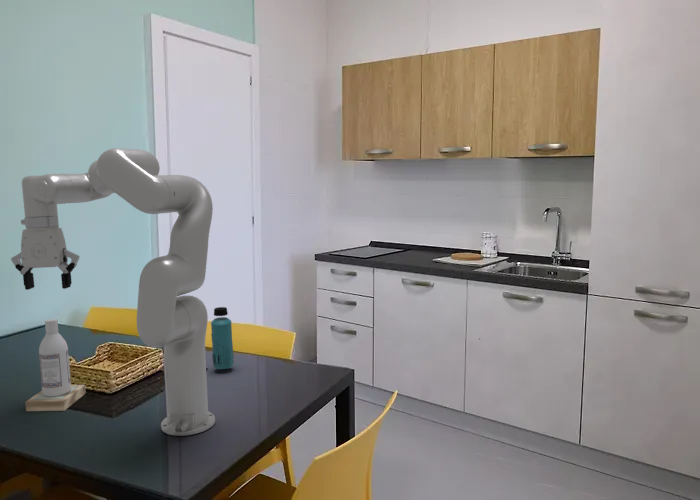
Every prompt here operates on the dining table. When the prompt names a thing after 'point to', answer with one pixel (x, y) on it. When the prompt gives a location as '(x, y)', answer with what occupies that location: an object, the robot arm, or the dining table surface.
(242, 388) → the dining table surface
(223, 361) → the beverage bottle
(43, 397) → the plinth
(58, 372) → the bath foam
